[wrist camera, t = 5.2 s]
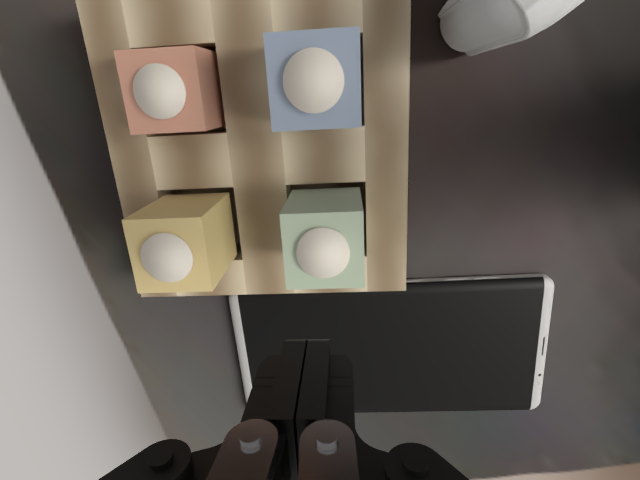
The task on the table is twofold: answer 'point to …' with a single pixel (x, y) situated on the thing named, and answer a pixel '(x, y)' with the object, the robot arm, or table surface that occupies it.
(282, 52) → the button
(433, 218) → the table surface
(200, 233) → the button
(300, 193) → the button
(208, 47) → the board
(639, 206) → the table surface
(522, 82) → the table surface
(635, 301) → the table surface
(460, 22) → the photo printer
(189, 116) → the button
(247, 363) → the smartphone
